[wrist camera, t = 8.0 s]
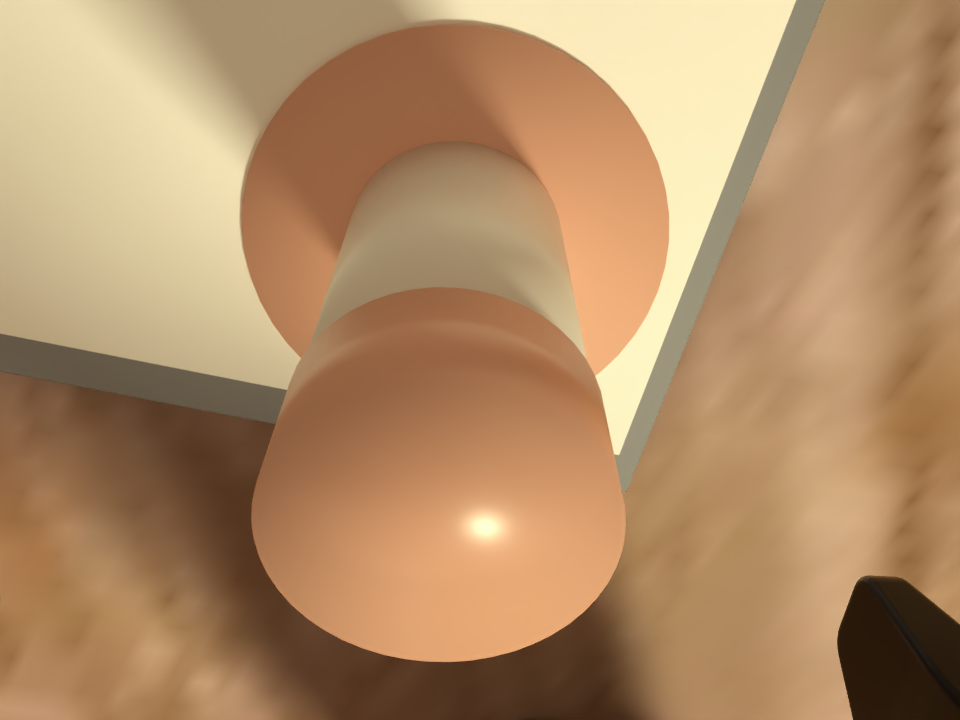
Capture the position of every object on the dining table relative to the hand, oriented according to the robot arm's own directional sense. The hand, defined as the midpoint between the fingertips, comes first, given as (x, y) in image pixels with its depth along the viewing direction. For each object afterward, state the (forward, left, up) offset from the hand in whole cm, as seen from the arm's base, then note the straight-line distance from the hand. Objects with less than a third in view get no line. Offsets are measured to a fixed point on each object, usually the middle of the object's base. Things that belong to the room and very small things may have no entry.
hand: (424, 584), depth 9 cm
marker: (0, 0, -9) cm, 9 cm away
